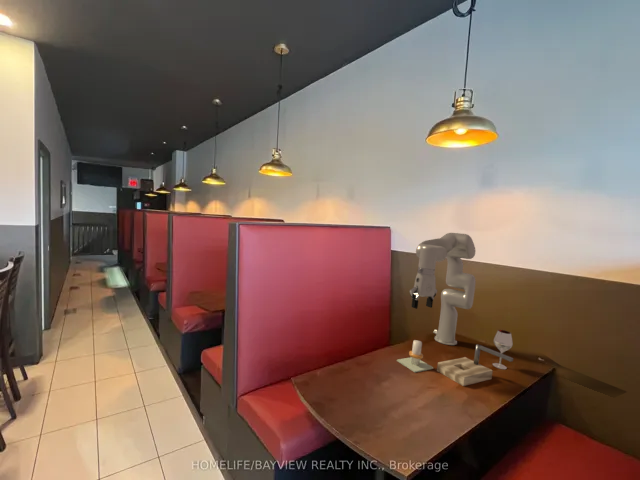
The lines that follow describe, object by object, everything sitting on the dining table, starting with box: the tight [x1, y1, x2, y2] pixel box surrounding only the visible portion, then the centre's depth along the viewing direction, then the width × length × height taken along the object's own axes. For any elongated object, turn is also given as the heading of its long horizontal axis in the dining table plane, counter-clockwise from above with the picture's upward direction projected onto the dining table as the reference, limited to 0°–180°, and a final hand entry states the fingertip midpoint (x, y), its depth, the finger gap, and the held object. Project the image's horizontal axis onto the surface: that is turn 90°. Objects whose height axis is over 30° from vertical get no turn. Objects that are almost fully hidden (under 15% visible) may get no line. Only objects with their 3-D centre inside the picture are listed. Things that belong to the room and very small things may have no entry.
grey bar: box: [473, 344, 514, 365], centre depth 140 cm, size 16×2×9 cm, turn 34°
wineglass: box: [492, 329, 513, 370], centre depth 156 cm, size 8×8×18 cm
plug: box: [408, 339, 424, 366], centre depth 148 cm, size 6×6×11 cm
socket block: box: [436, 356, 494, 387], centre depth 143 cm, size 14×20×4 cm
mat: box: [396, 356, 434, 373], centre depth 148 cm, size 12×12×1 cm
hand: (421, 307), depth 147 cm, fingers open, 9 cm apart
